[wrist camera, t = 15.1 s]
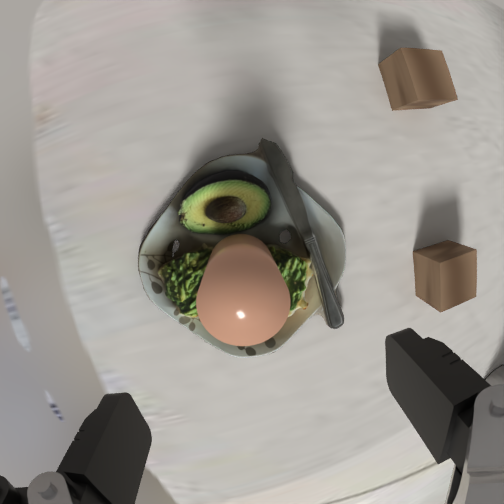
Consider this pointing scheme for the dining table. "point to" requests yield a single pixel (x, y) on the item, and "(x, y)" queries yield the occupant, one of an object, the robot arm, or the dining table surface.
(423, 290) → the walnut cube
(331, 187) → the dining table surface
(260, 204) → the salad plate
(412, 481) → the dining table surface
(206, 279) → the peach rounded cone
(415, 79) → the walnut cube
